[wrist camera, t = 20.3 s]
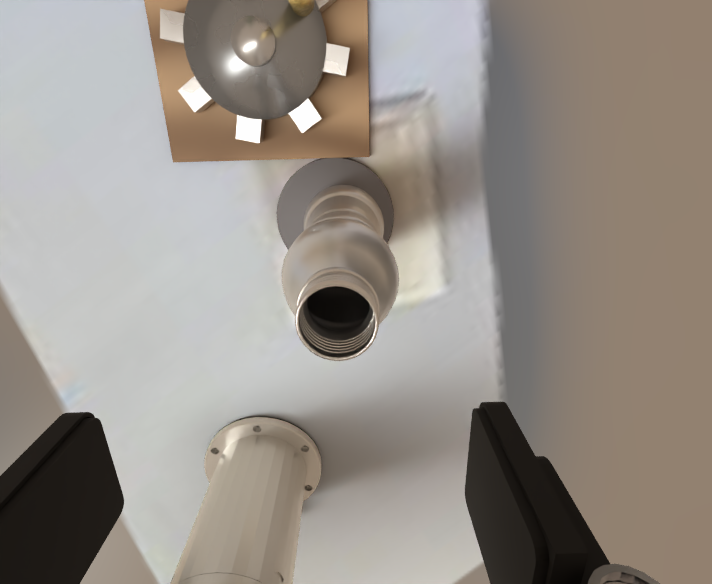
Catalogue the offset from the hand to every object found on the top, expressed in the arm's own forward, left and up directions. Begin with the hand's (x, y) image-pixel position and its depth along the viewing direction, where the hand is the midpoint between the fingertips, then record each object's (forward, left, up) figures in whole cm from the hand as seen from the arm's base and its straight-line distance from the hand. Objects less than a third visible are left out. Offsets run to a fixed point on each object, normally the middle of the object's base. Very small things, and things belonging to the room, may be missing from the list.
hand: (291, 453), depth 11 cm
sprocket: (+13, +5, -28) cm, 31 cm away
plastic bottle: (0, -1, -28) cm, 28 cm away
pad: (0, 0, -28) cm, 28 cm away
